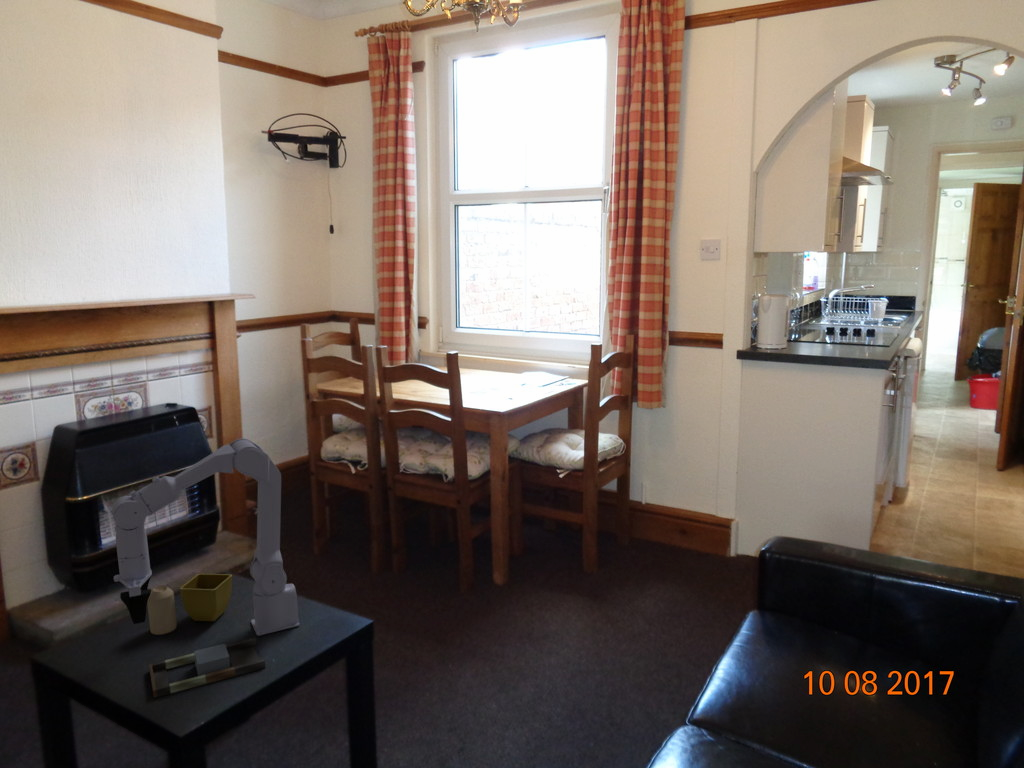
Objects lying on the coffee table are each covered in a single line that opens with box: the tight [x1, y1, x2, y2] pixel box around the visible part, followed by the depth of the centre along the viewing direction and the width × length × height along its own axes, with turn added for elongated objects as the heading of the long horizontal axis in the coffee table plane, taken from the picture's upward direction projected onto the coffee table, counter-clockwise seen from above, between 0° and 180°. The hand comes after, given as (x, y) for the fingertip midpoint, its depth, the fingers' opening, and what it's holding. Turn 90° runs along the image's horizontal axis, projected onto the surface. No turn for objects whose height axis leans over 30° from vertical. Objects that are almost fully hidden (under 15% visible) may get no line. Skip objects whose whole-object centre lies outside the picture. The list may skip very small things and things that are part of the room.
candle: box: [147, 585, 178, 636], centre depth 169 cm, size 6×6×10 cm
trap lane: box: [148, 637, 266, 699], centre depth 153 cm, size 21×11×2 cm, turn 119°
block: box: [193, 643, 231, 676], centre depth 153 cm, size 6×6×4 cm
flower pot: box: [179, 573, 233, 622], centre depth 175 cm, size 9×9×9 cm
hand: (139, 614), depth 156 cm, fingers open, 7 cm apart
